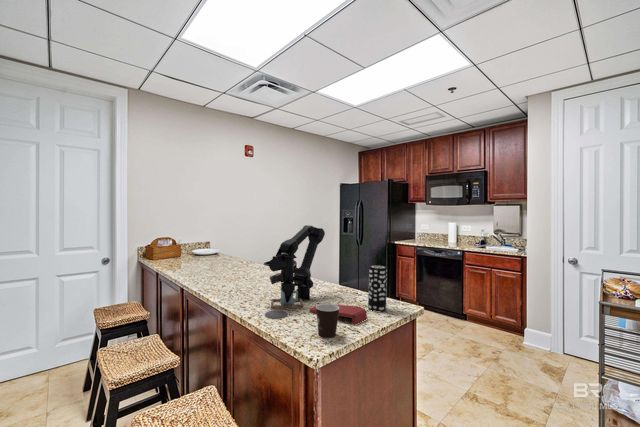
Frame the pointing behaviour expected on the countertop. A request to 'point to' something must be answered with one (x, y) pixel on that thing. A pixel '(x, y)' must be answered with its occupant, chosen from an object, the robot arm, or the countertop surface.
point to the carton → (349, 313)
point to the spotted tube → (377, 288)
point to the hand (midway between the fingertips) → (286, 300)
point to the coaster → (276, 314)
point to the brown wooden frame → (286, 305)
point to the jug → (283, 300)
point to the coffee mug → (327, 320)
